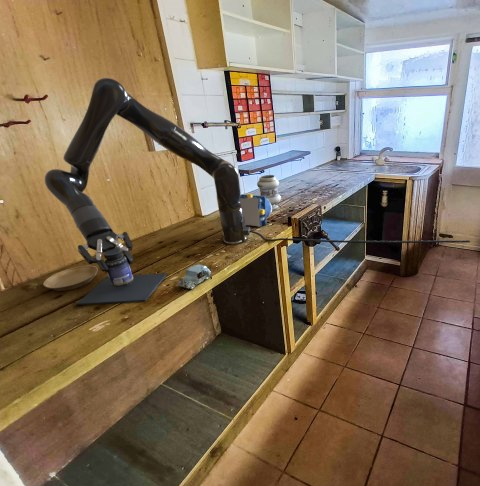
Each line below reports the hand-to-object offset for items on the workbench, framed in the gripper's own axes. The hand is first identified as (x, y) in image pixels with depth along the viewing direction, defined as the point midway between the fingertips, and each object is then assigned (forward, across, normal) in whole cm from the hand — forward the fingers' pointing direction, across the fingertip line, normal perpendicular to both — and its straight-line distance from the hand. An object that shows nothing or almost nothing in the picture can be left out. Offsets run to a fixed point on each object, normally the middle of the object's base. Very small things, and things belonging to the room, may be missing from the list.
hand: (119, 266), depth 96 cm
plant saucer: (-8, -8, +21) cm, 24 cm away
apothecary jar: (-10, +86, +22) cm, 89 cm away
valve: (-3, +66, +15) cm, 68 cm away
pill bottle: (+3, 0, +6) cm, 7 cm away
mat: (+5, 0, +7) cm, 9 cm away
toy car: (+17, +16, -5) cm, 24 cm away
